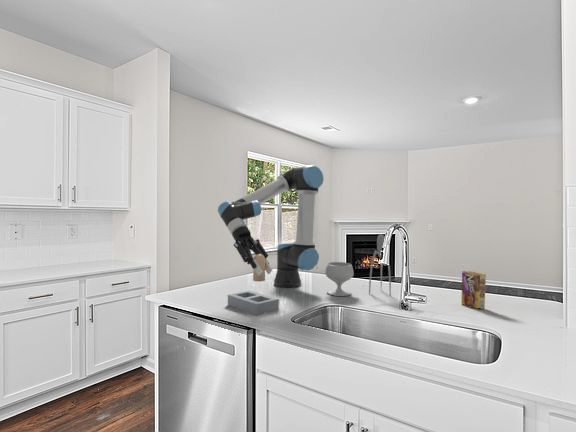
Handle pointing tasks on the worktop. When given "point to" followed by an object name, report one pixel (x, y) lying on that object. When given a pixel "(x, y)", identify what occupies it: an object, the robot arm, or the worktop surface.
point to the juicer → (379, 246)
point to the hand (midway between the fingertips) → (265, 272)
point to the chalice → (339, 276)
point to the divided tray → (253, 302)
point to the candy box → (473, 289)
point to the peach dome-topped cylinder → (261, 262)
